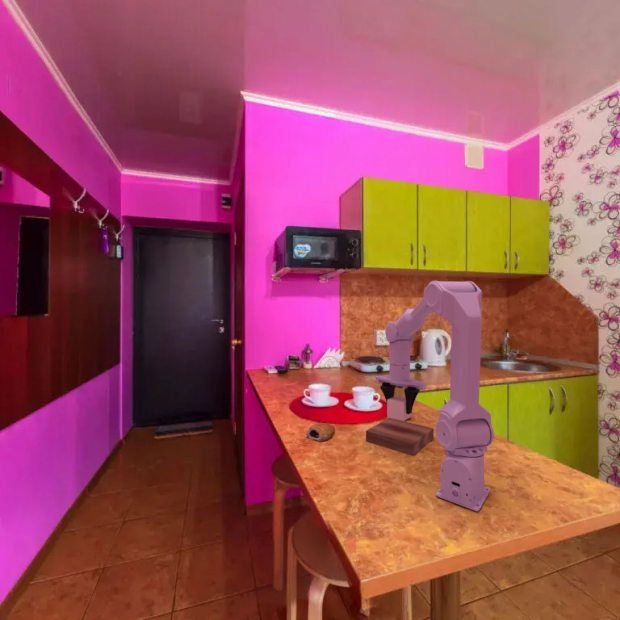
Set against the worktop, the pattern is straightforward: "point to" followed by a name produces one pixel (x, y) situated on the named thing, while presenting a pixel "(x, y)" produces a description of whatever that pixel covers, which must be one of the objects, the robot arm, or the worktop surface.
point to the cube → (397, 408)
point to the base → (400, 435)
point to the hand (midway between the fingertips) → (399, 411)
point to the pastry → (320, 432)
